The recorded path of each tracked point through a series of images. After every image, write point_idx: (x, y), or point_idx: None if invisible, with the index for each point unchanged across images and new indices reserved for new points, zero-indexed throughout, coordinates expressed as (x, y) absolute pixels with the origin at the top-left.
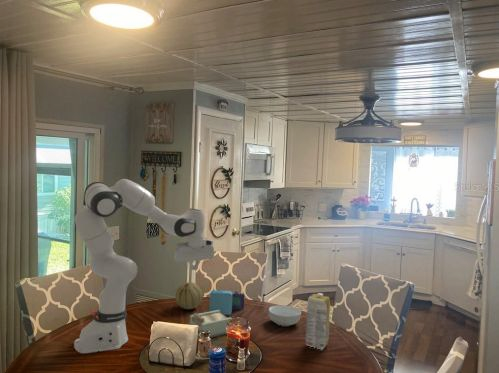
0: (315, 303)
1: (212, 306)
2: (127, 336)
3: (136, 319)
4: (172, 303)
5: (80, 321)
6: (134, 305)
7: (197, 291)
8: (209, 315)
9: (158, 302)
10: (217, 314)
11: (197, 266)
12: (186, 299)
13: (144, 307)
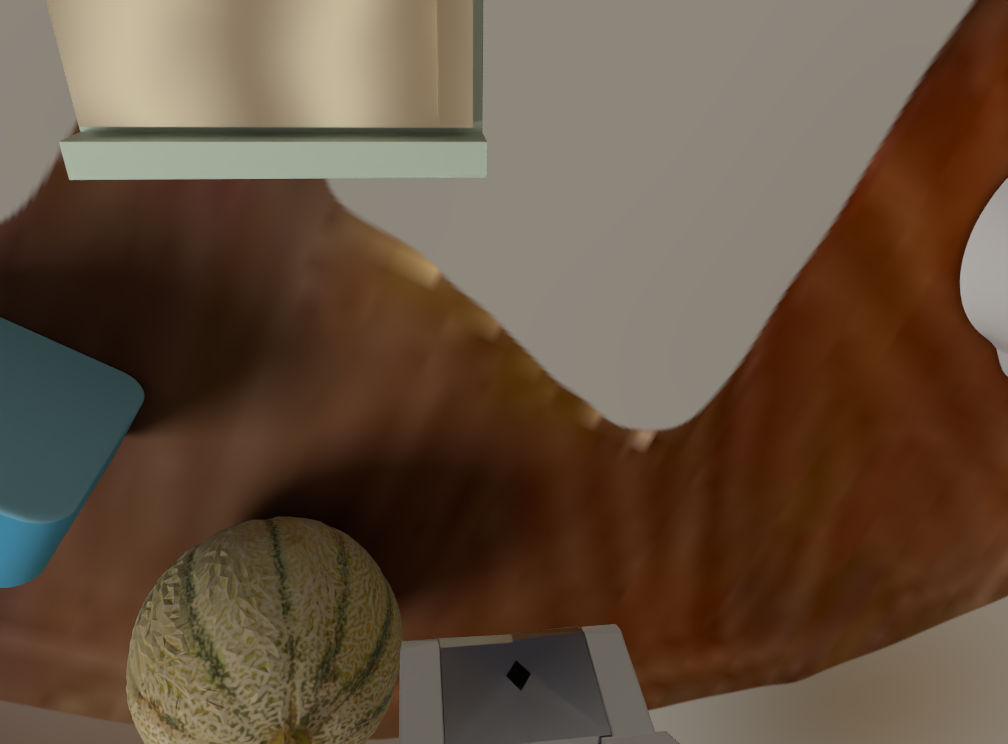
0: None
1: (92, 413)
2: (1001, 215)
3: (732, 504)
4: None
5: (998, 586)
6: None
7: (195, 633)
8: (248, 103)
9: None
10: (130, 80)
11: (407, 738)
12: (339, 570)
13: None
